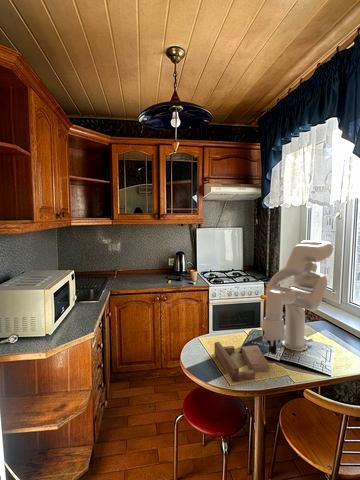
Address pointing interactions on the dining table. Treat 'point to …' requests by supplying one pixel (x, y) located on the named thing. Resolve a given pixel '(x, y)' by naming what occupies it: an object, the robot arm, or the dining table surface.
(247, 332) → the dining table surface
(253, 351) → the brick
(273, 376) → the dining table surface
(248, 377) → the block
